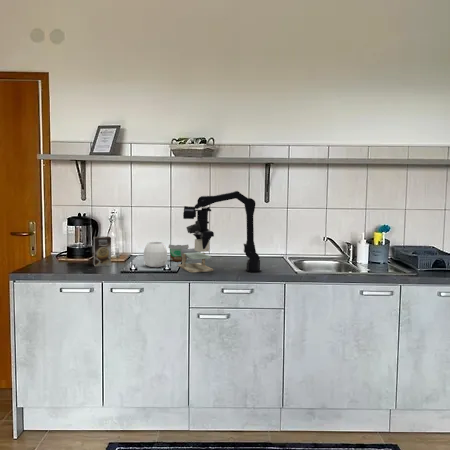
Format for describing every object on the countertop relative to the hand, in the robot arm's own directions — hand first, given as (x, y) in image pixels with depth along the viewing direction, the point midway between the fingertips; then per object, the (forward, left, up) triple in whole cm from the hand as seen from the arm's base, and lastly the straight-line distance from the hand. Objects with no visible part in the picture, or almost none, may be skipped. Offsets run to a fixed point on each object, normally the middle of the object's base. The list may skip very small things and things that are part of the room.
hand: (201, 248), depth 257 cm
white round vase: (+20, -19, -13) cm, 31 cm away
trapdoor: (+1, -6, -7) cm, 10 cm away
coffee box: (+47, -32, -13) cm, 58 cm away
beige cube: (0, 0, -2) cm, 2 cm away
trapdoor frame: (+1, -6, -12) cm, 14 cm away
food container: (+2, -30, -13) cm, 33 cm away
